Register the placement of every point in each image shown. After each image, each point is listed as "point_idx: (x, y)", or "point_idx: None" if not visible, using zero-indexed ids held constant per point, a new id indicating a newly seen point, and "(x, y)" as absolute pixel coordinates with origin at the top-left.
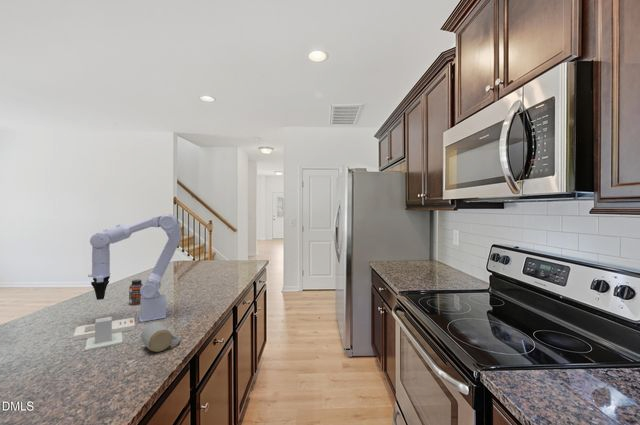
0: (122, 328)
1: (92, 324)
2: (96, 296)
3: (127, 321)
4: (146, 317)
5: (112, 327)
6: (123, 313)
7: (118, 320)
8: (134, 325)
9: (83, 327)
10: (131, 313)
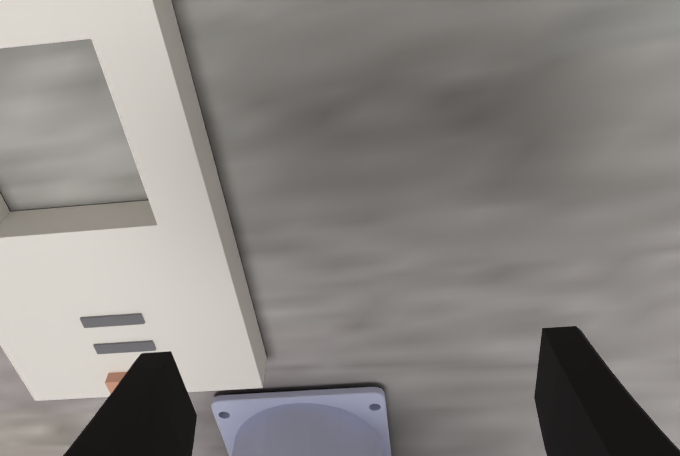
0: (1, 331)
1: (167, 97)
2: (104, 406)
3: None
4: (233, 447)
5: (11, 276)
6: (595, 279)
7: (219, 300)
8: (35, 397)
9: (73, 18)
10: (540, 334)
